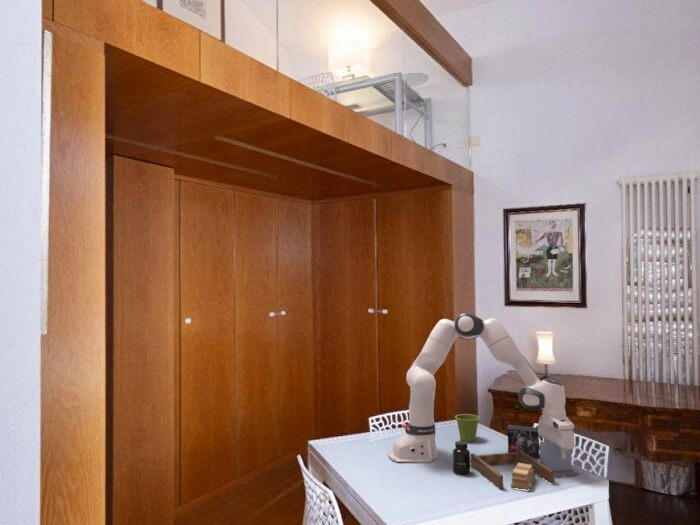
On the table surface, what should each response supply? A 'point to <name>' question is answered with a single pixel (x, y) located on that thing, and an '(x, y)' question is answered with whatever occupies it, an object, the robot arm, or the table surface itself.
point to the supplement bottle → (461, 458)
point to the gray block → (554, 457)
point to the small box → (523, 440)
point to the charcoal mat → (565, 473)
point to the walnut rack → (495, 477)
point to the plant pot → (467, 426)
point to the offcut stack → (522, 476)
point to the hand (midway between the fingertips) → (555, 454)
